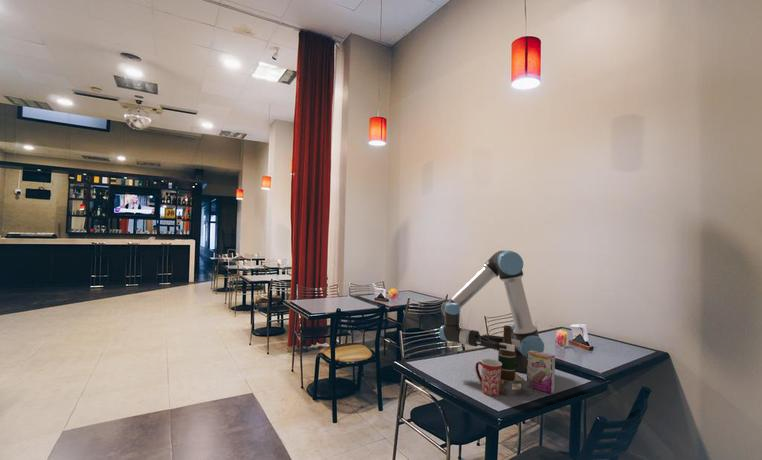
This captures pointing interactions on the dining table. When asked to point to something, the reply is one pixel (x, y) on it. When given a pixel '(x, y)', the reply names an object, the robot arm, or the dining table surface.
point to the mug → (490, 376)
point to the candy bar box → (541, 370)
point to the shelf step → (516, 386)
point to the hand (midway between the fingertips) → (517, 346)
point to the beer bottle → (507, 357)
